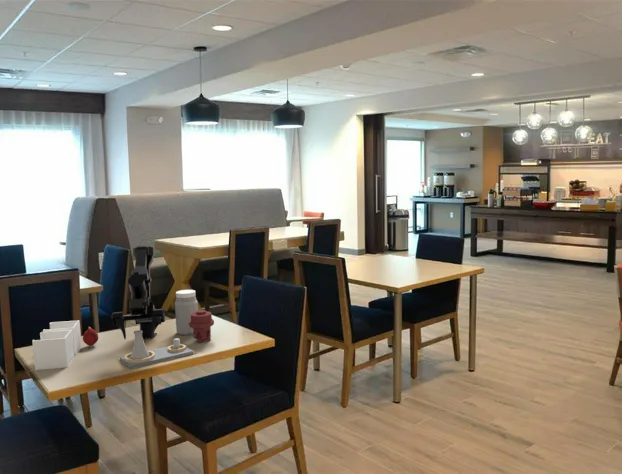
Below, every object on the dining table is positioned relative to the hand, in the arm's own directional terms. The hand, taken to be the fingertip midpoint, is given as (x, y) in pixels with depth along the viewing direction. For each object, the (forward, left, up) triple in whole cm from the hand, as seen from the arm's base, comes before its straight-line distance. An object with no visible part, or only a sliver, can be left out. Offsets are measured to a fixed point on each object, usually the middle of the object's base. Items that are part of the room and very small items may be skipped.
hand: (138, 337), depth 206 cm
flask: (-1, 0, -8) cm, 8 cm away
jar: (-37, +9, -9) cm, 39 cm away
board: (-5, +5, -9) cm, 12 cm away
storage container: (-7, -33, -10) cm, 35 cm away
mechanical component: (-25, +18, -9) cm, 32 cm away
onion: (-20, -26, -9) cm, 34 cm away
